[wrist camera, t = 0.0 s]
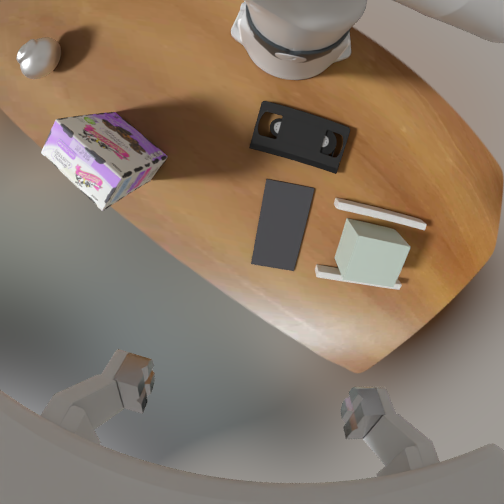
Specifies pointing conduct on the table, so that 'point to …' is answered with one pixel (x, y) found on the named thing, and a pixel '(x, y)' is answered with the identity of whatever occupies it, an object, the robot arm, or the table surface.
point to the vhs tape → (301, 137)
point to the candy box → (102, 156)
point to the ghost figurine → (39, 57)
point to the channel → (293, 224)
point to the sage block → (370, 253)
